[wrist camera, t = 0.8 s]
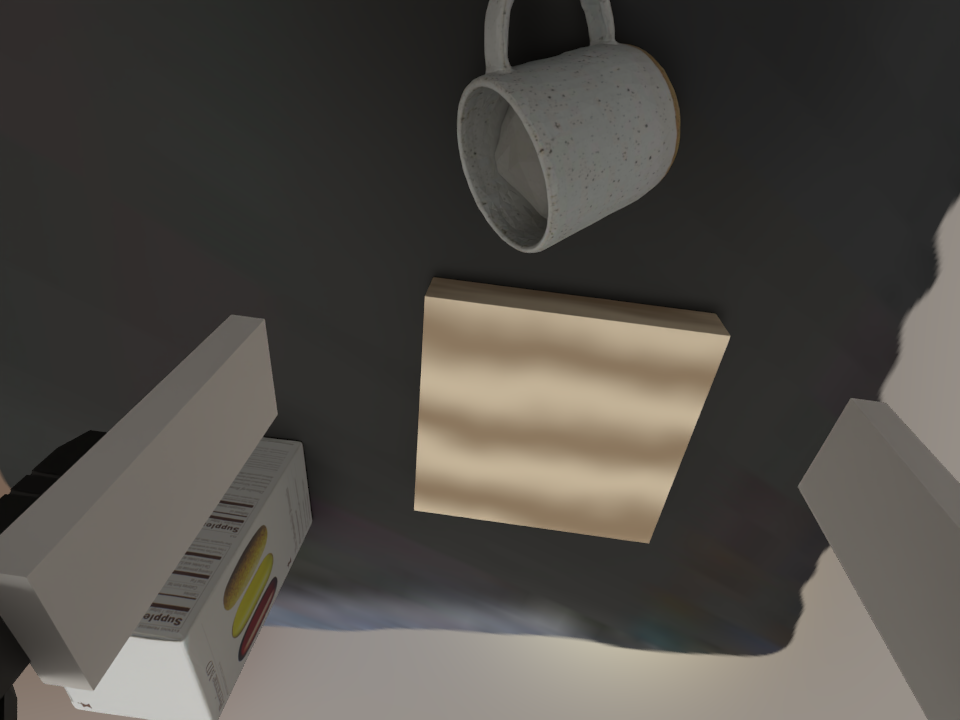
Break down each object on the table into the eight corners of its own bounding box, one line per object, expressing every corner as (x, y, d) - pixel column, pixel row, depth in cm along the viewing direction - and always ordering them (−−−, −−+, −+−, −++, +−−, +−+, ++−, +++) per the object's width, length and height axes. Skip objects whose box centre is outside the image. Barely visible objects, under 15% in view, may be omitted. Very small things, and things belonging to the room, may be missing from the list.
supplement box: (315, 522, 47) (217, 734, 33) (213, 510, 47) (73, 714, 33) (303, 438, 42) (182, 644, 28) (190, 425, 42) (12, 622, 28)
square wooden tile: (433, 277, 34) (424, 296, 31) (715, 313, 34) (730, 336, 31) (421, 482, 43) (414, 510, 41) (642, 513, 43) (648, 543, 40)
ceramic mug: (586, 154, 31) (680, 221, 27) (462, 204, 29) (542, 286, 24) (604, -76, 23) (746, -35, 18) (434, -29, 21) (547, 31, 16)
